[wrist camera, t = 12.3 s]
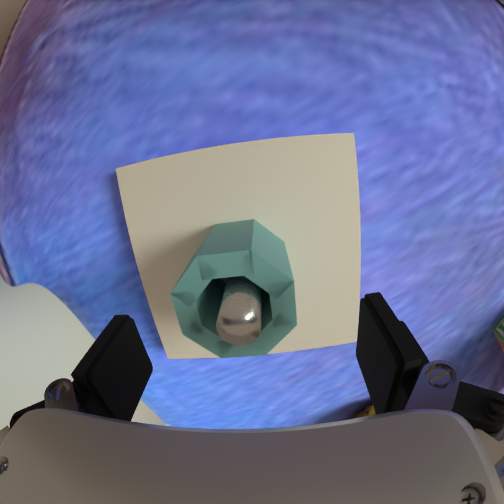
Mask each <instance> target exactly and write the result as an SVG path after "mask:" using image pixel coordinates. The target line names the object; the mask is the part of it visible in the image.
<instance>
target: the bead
mask: <svg viewBox="0 0 504 504" xmlns="http://www.w3.org/2000/svg"><path fill="white" fill-rule="evenodd" d="M236 276H245V277H247V278H248V279H249V280H251V281H252V282H254V283H255V284H257V285H258V286H259V287H261V332H260V335H259V336H258V338H257V339H256V340H255V341H253V342H252V343H249V344H246V345H233V344H230V343H228V342H226V341H224V340H223V339H222V338H221V337H220V336H219V334H218V332H217V330H216V322H217V318H218V314H219V310H220V306H221V302H222V298H223V294H224V290H225V286H226V282H224V281H223V280H221V279H220V278H227V277H236ZM170 294H171V298H172V301H173V305H174V308H175V312H176V315H177V318H178V321H179V325H180V328H181V331H182V334H183V335H184V336H186V337H187V338H189V339H191V340H192V341H194V342H195V343H197V344H199V345H200V346H202V347H203V348H205V349H207V350H208V351H210V352H212V353H213V354H215V355H217V356H218V357H220V358H229V357H244V356H257V355H266V354H267V353H269V352H270V351H271V350H272V349H273V348H274V347H275V346H276V345H277V344H278V343H279V342H280V341H281V340H282V339H283V338H284V337H285V336H286V335H287V334H288V333H290V332H291V331H292V330H293V329H294V328H295V327H296V326H297V314H296V301H295V288H294V279H293V275H292V271H291V267H290V263H289V259H288V255H287V251H286V247H285V243H284V241H283V240H281V239H280V238H279V237H277V236H276V235H275V234H273V233H272V232H271V231H269V230H268V229H267V228H265V227H264V226H263V225H261V224H260V223H259V222H257V221H256V220H255V219H250V220H242V221H234V222H227V223H219V224H216V225H215V226H214V228H213V229H212V230H211V232H210V233H209V234H208V236H207V237H206V239H205V240H204V241H203V243H202V244H201V245H200V247H199V248H198V250H197V251H196V252H195V254H194V255H193V257H192V259H191V260H190V262H189V264H188V265H187V267H186V268H185V270H184V272H183V273H182V275H181V277H180V278H179V280H178V281H177V283H176V285H175V286H174V288H173V290H172V291H171V293H170Z"/></svg>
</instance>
